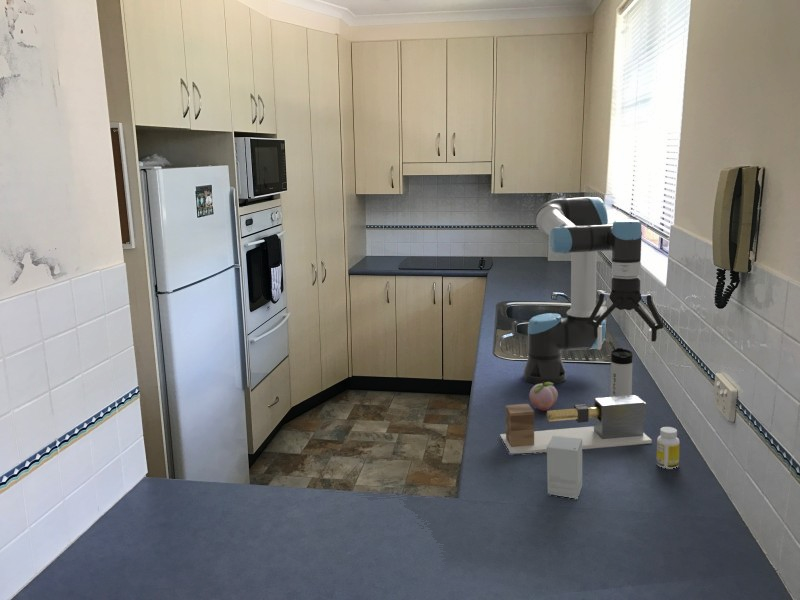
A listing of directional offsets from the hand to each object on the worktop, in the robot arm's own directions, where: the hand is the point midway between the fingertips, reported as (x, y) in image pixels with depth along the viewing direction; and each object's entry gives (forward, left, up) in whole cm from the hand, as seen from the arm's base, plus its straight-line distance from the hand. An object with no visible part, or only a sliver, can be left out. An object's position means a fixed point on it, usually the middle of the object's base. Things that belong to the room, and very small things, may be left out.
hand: (624, 350), depth 184 cm
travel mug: (-15, +6, -25) cm, 30 cm away
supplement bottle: (+21, +3, -25) cm, 33 cm away
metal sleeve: (+2, -2, -24) cm, 24 cm away
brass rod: (+2, -10, -19) cm, 21 cm away
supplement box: (+29, -27, -25) cm, 47 cm away
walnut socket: (+2, -31, -25) cm, 40 cm away
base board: (+2, -15, -25) cm, 29 cm away
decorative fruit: (-21, -17, -25) cm, 37 cm away
